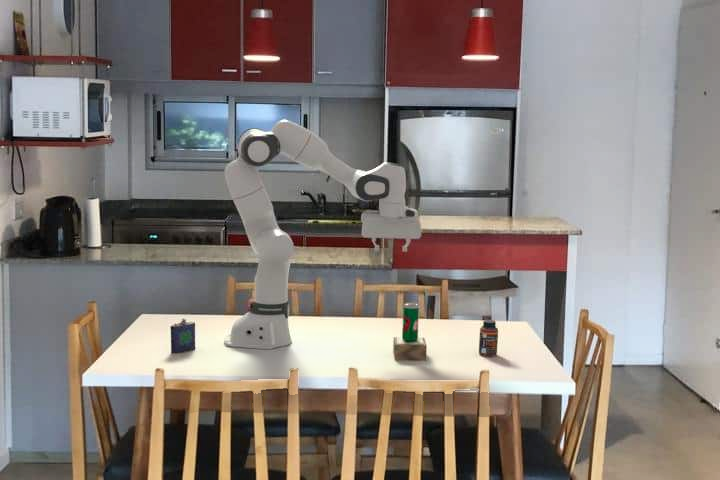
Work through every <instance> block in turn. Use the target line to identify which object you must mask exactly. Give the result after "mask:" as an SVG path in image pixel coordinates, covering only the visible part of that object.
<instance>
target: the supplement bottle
mask: <svg viewBox="0 0 720 480" xmlns="http://www.w3.org/2000/svg"><path fill="white" fill-rule="evenodd" d="M496 325H497V323H496V321H495V320H493V319H484V320H483V321H482V326H481V327H480V328H479V338H478V339H479V341H478V342H479V343H478V344H479V345H478V354H479V355H480V356H482V357H495V356H497V354H498V338H499V329H498V328H497V326H496Z"/></svg>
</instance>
